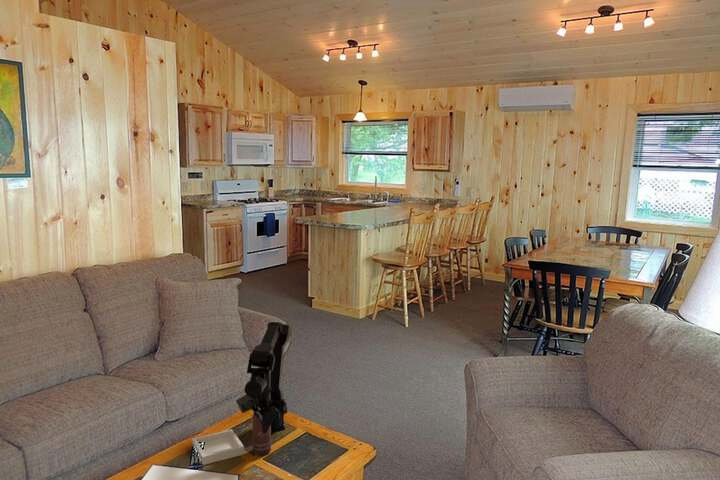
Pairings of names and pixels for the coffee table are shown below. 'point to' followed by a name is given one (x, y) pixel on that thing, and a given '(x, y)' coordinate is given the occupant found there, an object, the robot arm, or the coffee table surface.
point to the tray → (218, 446)
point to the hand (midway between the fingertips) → (261, 429)
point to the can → (260, 437)
